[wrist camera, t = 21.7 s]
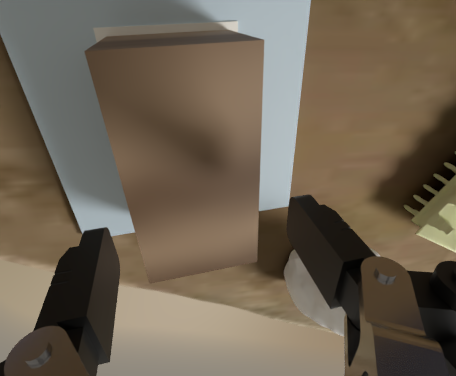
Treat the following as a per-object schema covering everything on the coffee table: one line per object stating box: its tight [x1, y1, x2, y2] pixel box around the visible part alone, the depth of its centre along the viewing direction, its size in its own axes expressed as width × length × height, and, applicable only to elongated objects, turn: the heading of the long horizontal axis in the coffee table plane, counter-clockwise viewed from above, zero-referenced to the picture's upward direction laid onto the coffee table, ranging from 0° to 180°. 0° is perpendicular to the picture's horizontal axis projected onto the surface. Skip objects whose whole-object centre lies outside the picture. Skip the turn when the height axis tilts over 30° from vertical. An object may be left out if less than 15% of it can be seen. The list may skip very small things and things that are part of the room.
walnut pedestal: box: [84, 30, 264, 283], centre depth 16 cm, size 12×6×6 cm, turn 2°
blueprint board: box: [0, 0, 311, 236], centre depth 17 cm, size 19×16×1 cm
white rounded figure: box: [284, 248, 380, 336], centre depth 24 cm, size 6×8×12 cm
